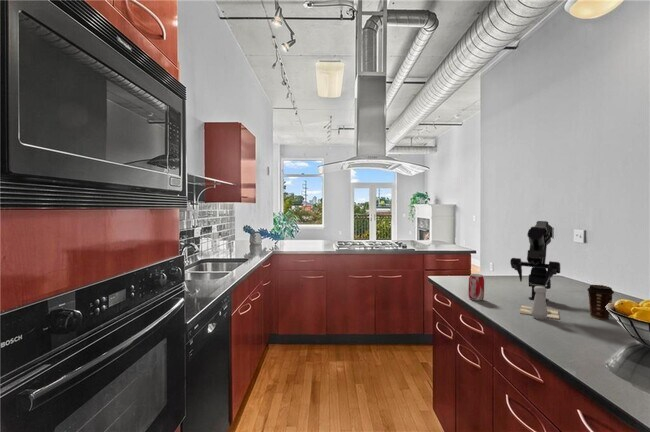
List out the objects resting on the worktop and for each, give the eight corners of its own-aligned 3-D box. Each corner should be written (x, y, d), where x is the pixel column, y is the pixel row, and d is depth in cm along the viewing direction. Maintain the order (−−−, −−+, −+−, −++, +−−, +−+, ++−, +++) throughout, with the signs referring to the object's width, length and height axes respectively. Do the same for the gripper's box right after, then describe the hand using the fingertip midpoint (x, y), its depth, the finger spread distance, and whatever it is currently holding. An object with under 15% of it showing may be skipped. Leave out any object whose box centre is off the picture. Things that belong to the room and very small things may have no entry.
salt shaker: (527, 315, 147) (528, 285, 146) (540, 315, 147) (541, 284, 147) (537, 320, 141) (538, 288, 140) (550, 320, 141) (551, 288, 141)
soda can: (485, 301, 167) (486, 276, 167) (469, 300, 169) (470, 276, 168) (481, 298, 174) (482, 274, 174) (466, 297, 176) (467, 273, 175)
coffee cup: (608, 315, 148) (609, 285, 148) (617, 321, 140) (618, 289, 140) (583, 313, 151) (584, 283, 151) (591, 319, 143) (592, 287, 143)
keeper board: (521, 305, 162) (521, 304, 162) (557, 310, 154) (557, 309, 154) (519, 313, 150) (519, 312, 150) (559, 319, 142) (559, 318, 142)
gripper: (511, 240, 159) (506, 271, 152) (560, 243, 147) (557, 277, 141) (514, 252, 166) (509, 282, 159) (561, 256, 155) (559, 289, 148)
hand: (532, 282), depth 152 cm, fingers open, 9 cm apart
